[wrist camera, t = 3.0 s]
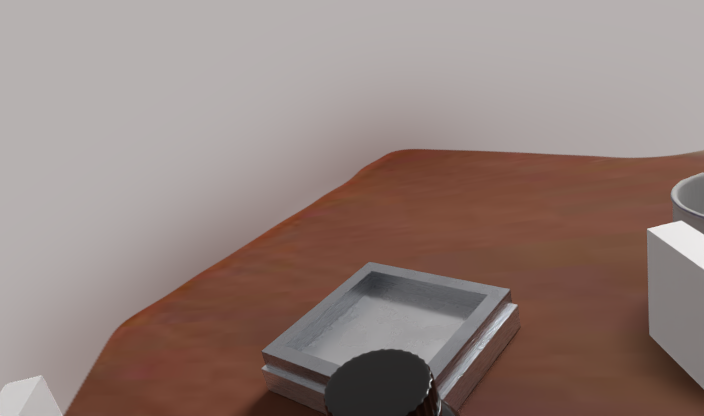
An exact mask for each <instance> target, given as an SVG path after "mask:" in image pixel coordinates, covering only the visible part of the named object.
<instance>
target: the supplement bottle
mask: <svg viewBox="0 0 704 416" xmlns="http://www.w3.org/2000/svg"><path fill="white" fill-rule="evenodd" d="M324 392H325V395H324V403H325V409H326V412H327V416H460V415H459V414H458V412H457V411H456V410H455V409H454V408H453V407H452V406H450V405H449V404H448V403H447V402H445V401H444V400H443V399H441V398H440V395H439V392H438V390H437V388H436V385H435V380H434V376H433V373H432V372H431V370H430V367H429V365H427V364H426V363H425V361H424V359H421V358H419V356H418V355H415V354H412V353H411V352H409V351H403V350H401V349H399V350H395V349H380V350H377V351H370V352H368V353H363V354H361V355H359V356H357V357H353V358H352V359H351V360H350V361H347V362H345V363H344V364H343V365H342V366H341V367H339V368H337V370H336V372H335V373H333V374H332V375H331V378H330V379H329V380H328V382H327V386H326V388H325V389H324Z"/></svg>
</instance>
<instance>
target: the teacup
mask: <svg viewBox="0 0 704 416" xmlns="http://www.w3.org/2000/svg"><path fill="white" fill-rule="evenodd" d="M671 200H672V202H673V222H677V221H681V220H682V221H683V222H685V223H686V224H688V225H690V226H691V227H693V228H694V229H696V230H697V231H699V232H701V233H702V234H704V173H701V174H698V175H695V176H691V177H689V178H687V179H684V180H682V181H680V182H679V183H678V184H677V185H676V186H675V187H674V188H673V189H672V191H671Z"/></svg>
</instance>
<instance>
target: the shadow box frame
mask: <svg viewBox="0 0 704 416" xmlns="http://www.w3.org/2000/svg"><path fill="white" fill-rule="evenodd" d="M520 327H521V326H520V318H519V310H518V305H516V304H512V300H511V292H510V289H506V288H500V287H495V286H490V285H485V284H480V283H475V282H470V281H464V280H459V279H454V278H449V277H444V276H439V275H434V274H429V273H423V272H418V271H413V270H408V269H403V268H398V267H393V266H387V265H382V264H377V263H372V262H368V263H367V264H366V265H365V266H364V267H362V268H361V269H360V270H359V271H358V272H356V273H355V274H354V275H353V276H352V277H350V278H349V279H348V280H347V281H346V282H344V283H343V284H342V285H341V286H339V287H338V288H337V289H336V290H335V291H333V292H332V293H331V294H330V295H329V296H327V297H326V298H325V299H324V300H323V301H321V302H320V303H319V304H318V305H317V306H315V307H314V308H313V309H312V310H311V311H309V312H308V313H307V314H306V315H304V316H303V317H302V318H301V319H300V320H298V321H297V322H296V323H295V324H294V325H292V326H291V327H290V328H289V329H288V330H286V331H285V332H284V333H283V334H282V335H280V336H279V337H278V338H277V339H276V340H274V341H273V342H272V343H271V344H270V345H268V346H267V347H266V348H265V349H263V350H262V351H261V352H262V355H263V358H264V361H265V363H266V365H265V366H264V367H263V368H262V372H263V375H264V378H265V381H266V384H267V387H268V390H270V391H273V392H275V393H277V394H280V395H282V396H284V397H287V398H289V399H291V400H294V401H296V402H298V403H301V404H303V405H305V406H308V407H310V408H312V409H315V410H317V411H319V412H322V413H324V414H326V415H327V412H326V409H325V403H324V395H325V392H324V389H325V388H326V386H327V382H328V380H329V379H330V378H331V375H332V374H333V373H335V372H336V370H337V368H339V367H341V366H342V365H343V364H344V363H345V362H347V361H350V360H351V359H352V358H353V357H357V356H359V355H361V354H363V353H368V352H370V351H377V350H380V349H395V350H399V349H401V350H403V351H409V352H411V353H412V354H415V355H418V356H419V358H421V359H424V361H425V363H426V364H427V365H429V367H430V370H431V372H432V373H433V376H434V380H435V385H436V388H437V390H438V392H439V395H440V398H441V399H443V400H444V401H445V402H447V403H448V404H449V405H450V406H452V407H453V408H454V409H455V410H456V411H457V410H458V409H459V408H460V406H461V405H462V404H463V402H464V401H465V400H466V398H467V397H468V396H469V394H470V393H471V392H472V391H473V389H474V388H475V387H476V385H477V384H478V383H479V381H480V380H481V379H482V377H483V376H484V375H485V373H486V372H487V371H488V369H489V368H490V367H491V365H492V364H493V363H494V361H495V360H496V359H497V357H498V356H499V355H500V353H501V352H502V351H503V349H504V348H505V347H506V345H507V344H508V343H509V341H510V340H511V339H512V337H513V336H514V335H515V334H516V332H517V331H518V330H519V328H520Z"/></svg>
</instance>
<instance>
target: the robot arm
mask: <svg viewBox="0 0 704 416" xmlns="http://www.w3.org/2000/svg"><path fill="white" fill-rule="evenodd" d="M647 252H648V299H649V335H650V336H651V337H652V338H653V339H654V340H655V341H656V342H657V343H658V344H659V345H660V346H661V347H662V348H663V349H664V350H665V351H666V352H667V353H668V354H669V355H670V356H671V357H672V358H673V359H674V360H675V361H676V362H677V363H678V364H679V365H680V366H681V367H682V368H683V369H684V370H685V371H686V372H687V373H688V374H689V375H690V376H691V377H692V378H693V379H694V380H695V381H696V382H697V383H698V384H699V385H700V386H701V387H702V388H703V389H704V234H702V233H701V232H699V231H697V230H696V229H694V228H693V227H691V226H690V225H688V224H686V223H685V222H683V221H682V220H681V221H677V222H673V223H669V224H665V225H661V226H657V227H653V228H648V229H647ZM0 416H63V415H62V413H61V411H60V409H59V407H58V405H57V403H56V401H55V399H54V398H53V395H52V394H51V392H50V390H49V388H48V386H47V384H46V382H45V380H44V378H43V376H42V375H41V376H37V377H32V378H28V379H25V380H20V381H16V382H12V383H8V384H6V385H5V386H4V388H3V389H2V391H1V392H0Z"/></svg>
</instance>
